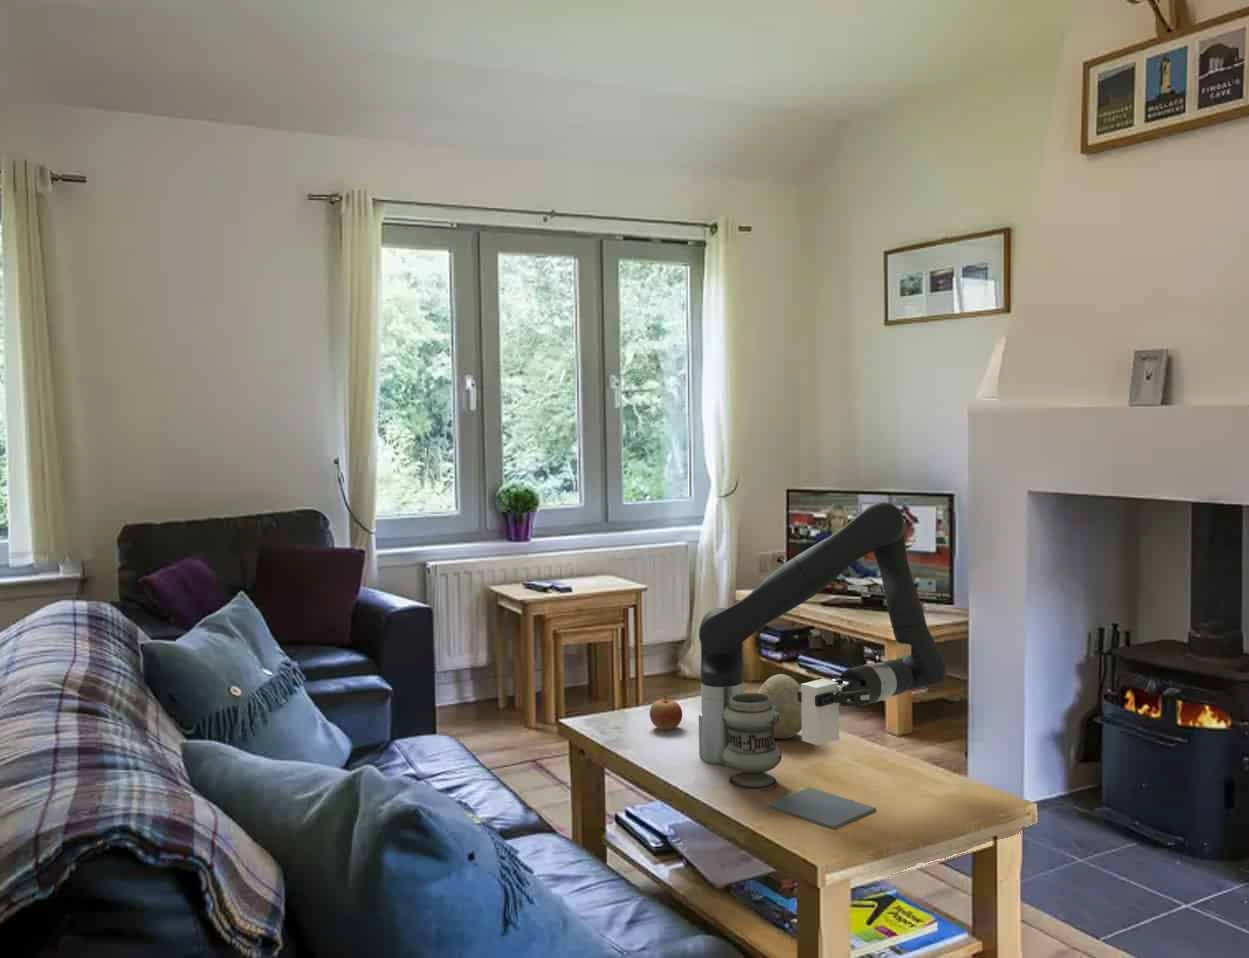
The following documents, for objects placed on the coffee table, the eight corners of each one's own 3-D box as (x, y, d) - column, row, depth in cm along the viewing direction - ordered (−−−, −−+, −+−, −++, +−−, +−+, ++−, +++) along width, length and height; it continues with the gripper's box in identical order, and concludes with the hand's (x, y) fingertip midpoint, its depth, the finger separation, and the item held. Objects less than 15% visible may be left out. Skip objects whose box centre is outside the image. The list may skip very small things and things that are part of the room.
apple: (647, 724, 262) (647, 693, 261) (679, 722, 263) (678, 691, 262) (652, 734, 254) (651, 701, 253) (684, 732, 255) (684, 699, 254)
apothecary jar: (713, 778, 221) (711, 694, 220) (762, 769, 226) (761, 686, 225) (741, 796, 210) (739, 707, 209) (793, 787, 215) (791, 700, 214)
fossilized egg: (743, 736, 250) (742, 673, 250) (783, 726, 257) (782, 665, 257) (779, 749, 240) (778, 684, 239) (820, 738, 247) (819, 675, 246)
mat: (767, 806, 205) (767, 803, 205) (809, 789, 213) (809, 787, 213) (833, 828, 193) (833, 826, 193) (875, 810, 201) (875, 807, 201)
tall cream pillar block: (801, 740, 202) (800, 683, 201) (823, 734, 206) (822, 678, 205) (817, 745, 199) (816, 687, 198) (839, 739, 202) (838, 682, 202)
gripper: (840, 659, 215) (780, 672, 205) (896, 671, 204) (835, 686, 194) (841, 695, 216) (781, 710, 206) (896, 709, 204) (836, 726, 194)
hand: (807, 698), depth 200 cm, fingers closed on tall cream pillar block, 4 cm apart
